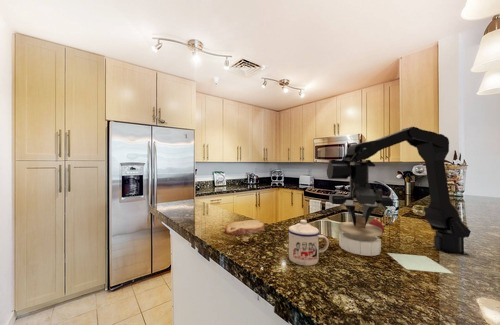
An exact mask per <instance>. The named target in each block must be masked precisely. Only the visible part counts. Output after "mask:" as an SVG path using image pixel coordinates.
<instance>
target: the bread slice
mask: <svg viewBox="0 0 500 325" xmlns="http://www.w3.org/2000/svg"><path fill="white" fill-rule="evenodd" d="M265 228H266V226H265V223H264V222H263V221H262V220H261V221H260V220H257V219H247V220H239V221H234V222H233V221H231V222H229V223H228V224H227V225H226V226H225V228H224V233H225V235H226V236H249V235H253V234H257V233H259V232H261V230H262V231H263V230H265Z"/></svg>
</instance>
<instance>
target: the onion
mask: <svg viewBox="0 0 500 325" xmlns="http://www.w3.org/2000/svg"><path fill="white" fill-rule="evenodd" d="M368 224H370V225H374V226H377V227H379V228H381V229H382V235H383V234H384V232H385V228H384V225H383V223H382V222H381V221H379V220H378V218H377V217H374V218H373V220H371V221H369V222H368ZM382 235H380V236H377V237H379V238H380V237H382Z"/></svg>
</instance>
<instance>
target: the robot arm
mask: <svg viewBox="0 0 500 325" xmlns="http://www.w3.org/2000/svg"><path fill="white" fill-rule="evenodd" d="M403 142H407V143H408V145H410V146H412V147H414V148H416V150H417V153H418V156H419V157H420V158H421V159H422V160H423V161H424V166H425V170H426V178H427V179H426V180H427V184H428V192H429V198H430V203H429V204H428V206H423V210H424V219H426V221H427V223H428V224H429V226H430V228H431V230H433V231H435V234H434V236H433V240H434V242H433V243H434V245H432V247H433V248H435V249H437V250H438V251H440V252H443V253H445V254H450V255H463V256H464V255H466V256H469V253H466V252H465V241H464V240H465V238H469V237H470V235H471V230H470V229H469V228H468V227H467V226H466V225H465V224H464V223H463V222H462V220H461V217H460V214H459V212H458V210H457V208H455V206H454V205H453V204H452V202H451V198H450V197H451V196H450V192H449V190H450V189H449V184H448V177H447V170H446V164H445V160H446V157H447V155H448V154H449V152H450V140H449V137H447V136H445V135H444V134H442V133H437V132H434V131H431V130H425V129H421V128H419V127H417V126H410V127H406V128H402V129H401V130H399V131H396V132H393V133H390V134H387V135H385V136H383V137H380V138H378V139H374V140H370V141H364V142H358V143H355V144H351V145H350V146H349V147H348V149H347V153H346V154H345V155H344V157H343V158H342V160H340V159H339V160H338V159H329V161H328V165H327V168H326V177H327V179H329V180H347V179H348V178H349V182H348V185H349V193H348V194H349V196H345V195H343V194H338V193H337V194H336V193H335V194H333V193H330V195H329V196H328V198H329V199H328V201H329V203H330V204H332V205H342V206H343V207H345V208H346V210H347V212H348V214H349V217H350V220H351V222H353V225H356V218H355V215H356V205H354V203H357V204H359V205H362V216H364V217H365V226H366V224H368V221H369V218H370V216H371V214H372V213H373V211H374V210H375V209H379V206H378V204H380V205H381V206H382V207H394V201H393V198H391V197H390V196H386V195H383V190H382V189H381V188H373V189H372V187H371V183H370V182H369V181H370V180H369V179H370V178H369V171H370V170H369V168H370V167H372V168H373V167H375V166H376V164H375V163H374V162H372V161H371V160H370V158H371V157H373V156H375V155H376V154H377V153H378V152H380V151H382V150H384V149H386V148H387V149H388V148H389V147H392V146H395V145H397V144H400V143H403ZM364 160H365V161H364ZM351 163H353V164H351Z"/></svg>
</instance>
